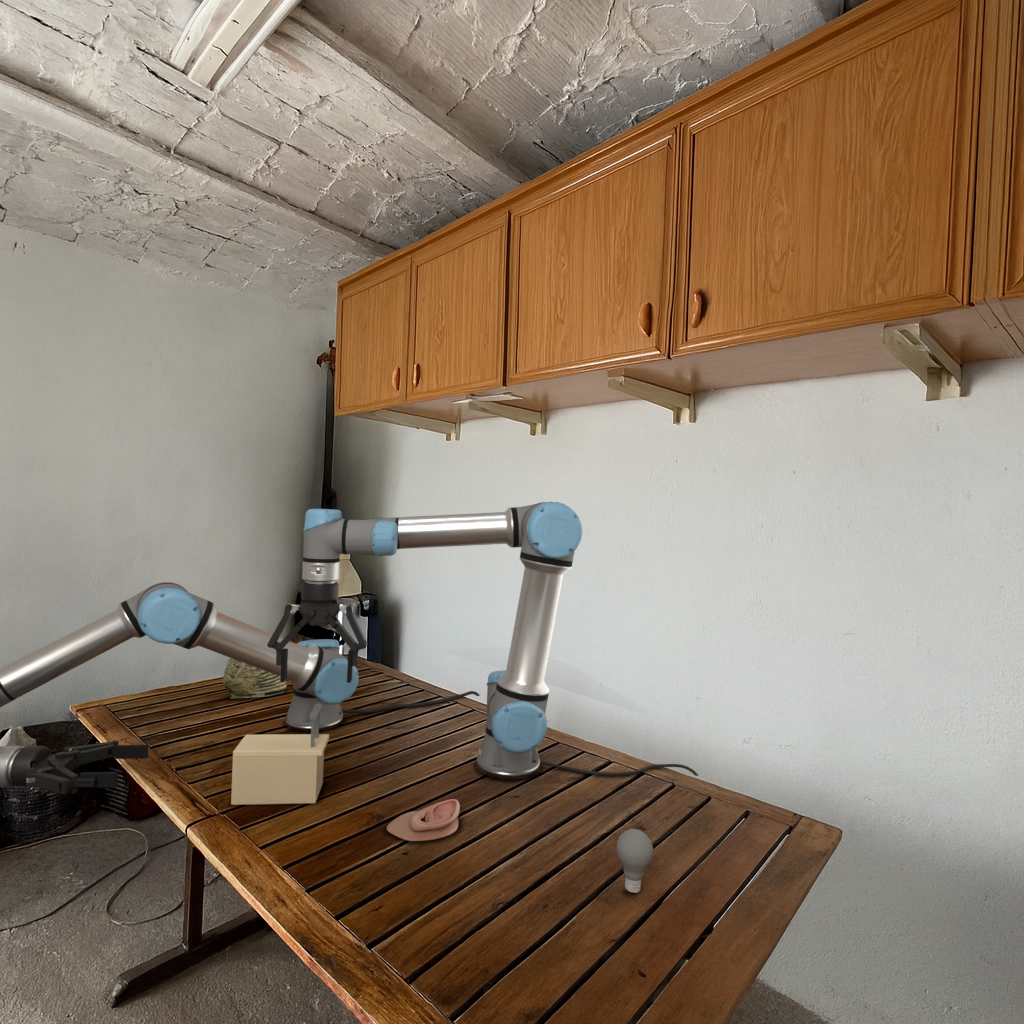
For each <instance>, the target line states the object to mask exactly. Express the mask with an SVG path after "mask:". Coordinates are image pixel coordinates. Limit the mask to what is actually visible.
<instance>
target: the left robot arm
mask: <svg viewBox="0 0 1024 1024" xmlns="http://www.w3.org/2000/svg"><path fill="white" fill-rule="evenodd" d="M272 635H273V633H271V632H269V631H266V630H263V629H261V628H259V627H256V626H254V625H251V624H249V623H246V622H243V621H241V620H238V619H236V618H234V617H231V616H229V615H227V614H224V613H222V612H219V611H218V610H217V609H216V605H215V603H214V602H213V601H210V600H208V599H206V598H203V597H201V596H199V595H196V594H193V593H190V592H189V591H188V590H187V589H186V588H185V587H184V586H182V585H181V584H178V583H177V582H171V581H163V582H157V583H155V584H152V585H150V586H148V587H147V588H145V589H144V590H141V591H140V592H138V593H136V594H135V595H133V596H131V597H129V598H128V599H125V600H124V601H122V602H120V603H119V604H118V606H117V608H116V609H115V610H114V611H111V612H110V613H108V614H105V615H103V616H102V617H100V618H97V619H95V620H94V621H92V622H89V623H87V624H86V625H84V626H82V627H80V628H77V629H75V630H74V631H71V632H70V633H67V634H66V635H64V636H62V637H60V638H58V639H56V640H54V641H52V642H50V643H48V644H46V645H44V646H41V647H40V648H38V649H36V650H35V651H32V652H30V653H28V654H26V655H24V656H22V657H20V658H19V659H17V660H16V659H15V660H14V661H13V662H10V663H8V664H6V665H4V666H2V667H1V668H0V708H2V707H4V706H6V705H7V704H9V703H11V702H13V701H15V700H17V699H19V698H20V697H22V696H24V695H26V694H28V693H30V692H32V691H34V690H35V689H38V688H39V687H42V686H43V685H45V684H47V683H49V682H50V681H53V680H55V679H56V678H58V677H60V676H62V675H64V674H66V673H68V672H70V671H73V669H76V668H77V667H79V666H81V665H83V664H85V663H87V662H90V661H91V660H92V659H95V658H97V657H99V656H100V655H101V654H104V653H106V652H108V651H109V650H113V648H115V647H117V646H119V645H121V644H123V643H125V642H126V641H129V640H130V639H132V638H138V639H142V638H143V637H146V636H147V637H148V638H149V639H150V640H152V641H154V642H157V643H159V644H166V645H175V646H178V647H180V648H183V649H186V650H191V649H194V648H197V647H200V648H203V649H206V650H208V651H212V652H214V653H217V654H220V655H222V656H225V657H227V658H229V659H230V658H233V659H235V660H238V661H240V662H243V663H246V664H248V665H251V666H254V667H256V668H259V669H262V670H264V671H267V672H270V673H272V674H275V675H278V676H280V677H281V666H277V665H276V650H275V649H274V648H269V647H268V646H267V644H268V642H269V640H270V638H271V637H272ZM283 639H284V637H281V636H280V637H279V638H278V640H277V642H281V641H282V640H283ZM340 648H341V647H340V643H339V641H338V640H337V639H331V638H329V639H328V638H326V639H325V638H324V639H307V640H302V641H299V642H297V643H296V642H293V641H291V640H290V641H289V642H288V643H287V644H286V646H285V647H284V649H288V663H287V679H286V680H289V681H290V682H291V685H292V687H293V695H292V696H293V697H292V699H291V702H290V704H289V708H288V710H287V712H286V714H285V726H286V728H287V729H289V730H291V731H294V732H295V731H296V732H301V733H311V721H312V720H310V718H309V715H310V713H311V711H312V710H313V708H314V706H315V704H317V703H320V704H321V705H322V709H321V711H320V714H319V732H325V731H329V730H332V729H335V728H337V727H339V726H340V725H342V723H343V722H344V714H373V713H379V712H383V711H388V710H394V709H404V708H416V707H423V706H430V705H434V704H435V705H436V704H440V703H445V702H448V701H452V700H456V699H459V698H464V697H466V696H469V695H473V696H474V695H475V696H476V697H480V696H481V695H480V693H478V692H477V691H474V690H469V691H467V692H466V691H465V692H464V693H460V694H455V695H451V696H449V697H445V698H439V699H434V700H430V701H422V702H416V703H403V704H393V705H387V706H381V707H377V708H372V709H342V706H341V704H342V703H344V702H345V701H348V699H350V697H352V695H353V694H354V693H355V691H356V689H357V688H358V684H359V679H360V678H359V671H358V669H357V666H353V668H352V680H351V683H347V668H348V658H347V657H346V656H344V655H343V654H341V653H340ZM315 721H316V720H315ZM110 758H111V759H112V758H113V759H114V760H142V759H144V760H147V759H148V758H149V744H119V740H116V739H115V740H111V741H105V742H98V743H90V744H84V745H78V746H65V747H63V751H59V752H56V753H52V752H51V751H50V749H49V748H48V747H47V746H44V745H26V746H23V745H1V746H0V788H1V789H5V788H7V787H14V786H15V787H27V788H38V789H42V790H45V791H49V792H53V793H57V794H59V795H67V794H69V793H70V794H71V795H73V794H77V793H78V791H79V789H88V788H89V789H90V788H91V789H92V788H93V789H94V788H95V789H97V788H98V789H99V788H101V789H102V788H117V786H118V775H119V774H118V773H119V772H118V771H84V772H83V771H81V772H80V773H79V775H78V774H77V773H75V772H73V771H72V770H75V769H79V768H80V767H81V766H82V765H85V764H90V763H94V762H98V761H103V760H106V759H110ZM78 788H79V789H78Z"/></svg>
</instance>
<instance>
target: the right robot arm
mask: <svg viewBox="0 0 1024 1024" xmlns="http://www.w3.org/2000/svg"><path fill="white" fill-rule="evenodd" d="M302 531H303V545H302V546H303V549H302V551H303V552H302V570H301V571H302V572H301V579H302V580H303V582H302V583H301V599H300V604H296V603H295V604H294V603H293V602H288V603H287V604H285V606H284V611H283V616H282V617H281V619H280V621H279V622H278V624H277V626H276V628H275V629H274V632H273V633H272V634H273V635H272V637H271V638H270V640H269V642H268V644H267V646H268V647H269V648H274V649H275V650H276V665H277V666H281V678H280V682H285V681H286V682H287V680H288V679H287V663H288V649H284V647H285V646H286V644H287V643H288V642H289V641H290V642H291V640H292V639H293V638H294V637H295V636H296V635H297V634H298V633H299V632H300V631H301V630H302V629H303V627H304V626H305V625H306V624H307V625H309V626H311V627H315V626H321V627H326V626H329V625H330V627H331V628H332V629H334V631H335V632H336V633H337V634H338V635H339V637H340V638H341V639H342V640H343V642H344V643H345V644H346V646H348V648H349V650H348V651H347V659H348V668H347V683H351V680H352V668H353V666H355V667H357V665H358V663H359V651H360V650H365V649H366V648H367V646H368V641H367V640H366V637H365V635H364V633H363V630H362V629H361V627H360V624H359V622H358V620H357V617H356V616H355V611H354V605H353V603H348V604H345V605H340V603H339V592H340V591H339V590H340V589H339V588H340V584H339V583H338V580H340V567H341V566H340V565H341V564H340V563H341V562H340V561H341V558H340V557H341V555H356V556H357V555H358V556H376V557H388V556H389V557H390V556H394V555H395V554H396V553H397V551H398V550H406V549H425V548H428V549H429V548H447V547H448V548H449V547H467V546H468V547H469V546H490V545H507V546H508V547H509V548H511V549H513V548H514V549H515V548H520V553H519V560H520V561H521V563H522V564H523V567H524V569H523V574H522V575H523V576H522V580H521V587H520V592H519V597H518V604H517V608H516V614H515V620H514V625H513V629H512V630H513V631H512V636H511V642H510V648H509V652H508V659H507V664H506V668H505V670H503V669H502V670H494V671H491V672H490V673H489V674H488V677H487V682H486V686H487V689H486V691H487V692H486V711H485V712H486V714H485V715H486V717H485V734H484V737H483V740H482V742H481V744H480V747H479V749H478V753H477V756H476V769H477V770H478V771H479V773H481V774H483V775H485V776H487V777H490V778H492V779H497V780H505V781H518V780H519V781H520V780H525V779H528V778H532V777H534V776H535V775H537V774H538V773H539V772H540V768H541V767H540V766H541V765H543V766H548V767H553V768H557V769H560V770H561V769H562V770H566V771H570V772H571V771H572V772H575V773H576V772H577V773H581V774H585V775H586V774H588V775H595V776H597V775H598V776H610V777H611V776H613V777H615V776H616V777H617V776H629V775H636V774H639V773H643V772H645V771H647V770H650V769H653V768H654V769H655V768H679V769H680V768H681V769H684V770H687V771H689V772H690V773H692V774H693V775H694V776H696V777H698V776H699V774H698V773H697V772H696V771H695V770H694V769H693V768H691V767H690V766H687V765H685V764H679V763H655V764H649V765H646V766H643V767H641V768H639V769H634V770H630V771H614V772H612V771H611V772H610V771H607V772H606V771H595V770H594V771H593V770H587V769H580V768H575V767H571V766H567V765H562V764H557V763H554V762H553V763H552V762H547V761H542V760H541V759H540V755H539V752H538V751H539V750H538V748H537V747H539V746H540V745H541V744H542V742H543V741H544V740H545V737H546V736H547V735H546V734H547V731H548V719H547V715H546V712H547V707H548V700H549V696H550V695H549V694H550V688H549V687H548V685H547V683H546V682H545V678H546V672H547V666H548V662H549V655H550V652H551V651H550V650H551V645H552V641H553V640H552V639H553V634H554V629H555V621H556V616H557V611H558V606H559V600H560V595H561V590H562V584H563V578H564V575H565V574H566V573H568V571H570V570H571V569H573V563H574V558H575V552H576V550H577V549H578V547H579V545H580V544H581V541H582V538H583V525H582V521H581V519H580V517H579V515H578V514H577V513H576V512H575V510H573V509H572V508H571V507H570V506H568V505H566V504H565V503H562V502H558V501H542V502H538V503H537V502H536V503H534V504H529V505H523V506H514V507H513V506H512V507H508V508H507V509H506V510H505V511H501V512H500V511H499V512H479V513H457V514H454V513H453V514H437V515H416V516H415V515H413V516H398V517H394V516H393V517H378V516H377V517H372V518H370V519H348V518H347V519H346V518H343V516H342V511H341V510H340V509H330V508H310V509H308V510H306V512H305V515H304V526H303V530H302ZM297 611H298V612H299V614H300V615H301V617H302V618H301V620H300V621H299V622H298V623H297V624H296V625H295V626H294V627H293V628H292V629H291V630H290V632H288V634H286V636H285V637H283V640H282V641H281V642H277V640H278V638H279V637H281V635H282V633H283V631H284V630H285V628H286V626H287V625H288V622H289V621H290V619H291V617H292V615H295V614H296V613H297ZM340 612H341V613H342V614H343V616H346V619H347V621H348V623H349V626H350V627H351V630H352V632H353V634H354V636H355V638H356V640H355V639H354V638H353V637H352V635H351V634H350V633H349V632H348V630H347V629H346V628H345V626H343V624H342V623H341V621H340V620H339V619H338V617H337V616H338V615H339V613H340Z"/></svg>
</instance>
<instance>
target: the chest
mask: <svg viewBox="0 0 1024 1024" xmlns="http://www.w3.org/2000/svg"><path fill="white" fill-rule="evenodd" d="M324 763H325V751H324V752H323V755H322V756H237V757H233V756H232V770H231V795H230V796H231V797H230V806H231V805H232V806H236V805H237V806H238V805H241V806H244V805H293V804H295V805H296V804H298V805H299V804H316V803H317V800H318V797H319V794H320V792H321V790H322V787H323V783H324Z"/></svg>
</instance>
